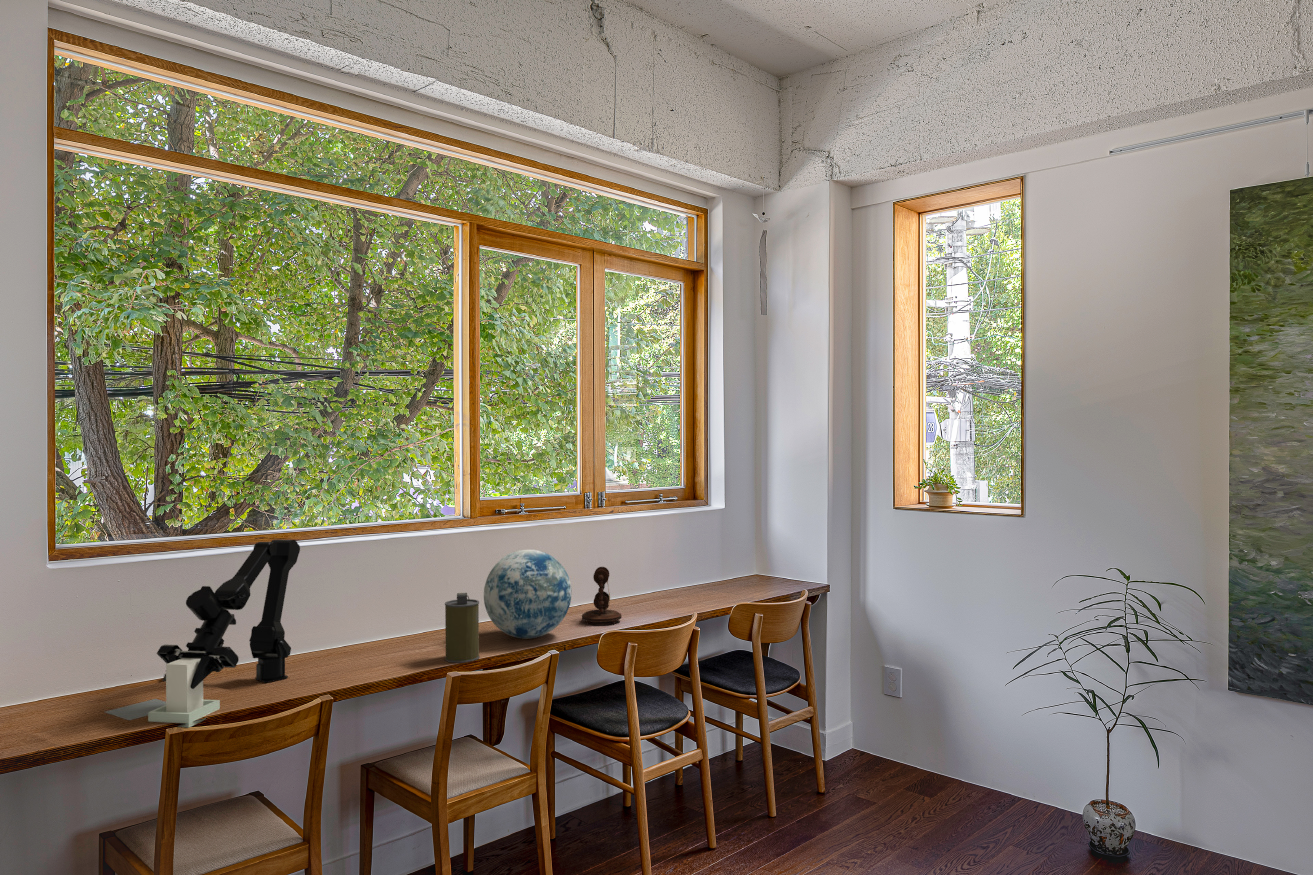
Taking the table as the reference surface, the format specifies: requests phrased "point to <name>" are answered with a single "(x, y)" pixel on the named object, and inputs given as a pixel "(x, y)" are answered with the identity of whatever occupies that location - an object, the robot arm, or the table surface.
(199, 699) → the white block
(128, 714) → the coaster
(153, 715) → the tray
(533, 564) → the globe
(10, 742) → the table surface
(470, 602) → the canister
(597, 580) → the dark pedestal ornament
